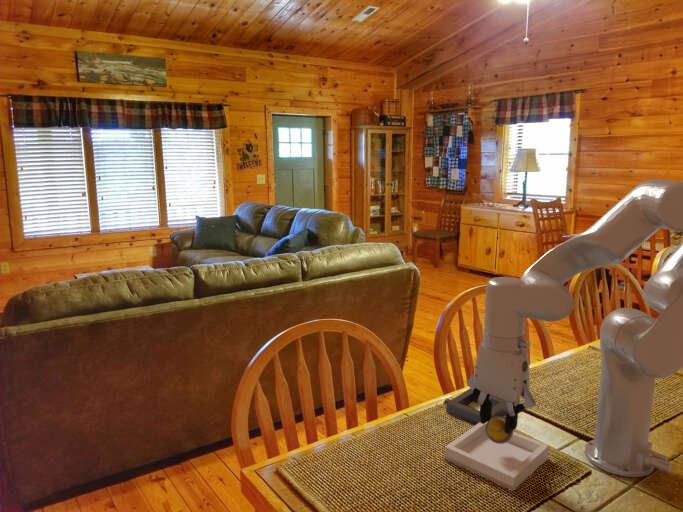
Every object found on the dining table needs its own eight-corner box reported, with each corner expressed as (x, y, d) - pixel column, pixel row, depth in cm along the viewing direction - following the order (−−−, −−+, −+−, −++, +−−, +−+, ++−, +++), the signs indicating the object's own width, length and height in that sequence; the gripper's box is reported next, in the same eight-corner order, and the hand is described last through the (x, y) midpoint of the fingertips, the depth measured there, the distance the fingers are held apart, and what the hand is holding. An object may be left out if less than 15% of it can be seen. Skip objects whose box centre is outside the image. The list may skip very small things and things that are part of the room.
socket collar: (510, 411, 129) (511, 401, 129) (487, 428, 122) (487, 418, 121) (470, 396, 137) (470, 387, 136) (446, 412, 129) (446, 402, 129)
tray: (548, 458, 110) (549, 445, 109) (513, 492, 99) (513, 477, 99) (482, 432, 120) (483, 419, 120) (444, 459, 110) (445, 446, 109)
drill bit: (519, 443, 109) (508, 427, 102) (494, 451, 110) (481, 436, 103) (511, 418, 113) (499, 402, 106) (486, 426, 114) (474, 410, 107)
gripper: (553, 346, 101) (546, 434, 105) (474, 326, 113) (470, 405, 117) (536, 358, 96) (529, 449, 100) (455, 334, 108) (451, 418, 112)
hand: (497, 425), depth 108 cm, fingers closed on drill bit, 4 cm apart
